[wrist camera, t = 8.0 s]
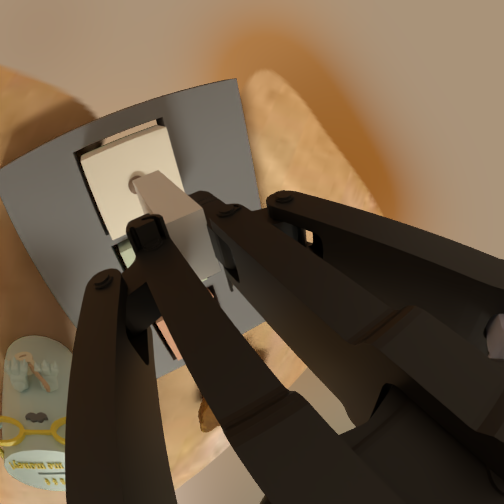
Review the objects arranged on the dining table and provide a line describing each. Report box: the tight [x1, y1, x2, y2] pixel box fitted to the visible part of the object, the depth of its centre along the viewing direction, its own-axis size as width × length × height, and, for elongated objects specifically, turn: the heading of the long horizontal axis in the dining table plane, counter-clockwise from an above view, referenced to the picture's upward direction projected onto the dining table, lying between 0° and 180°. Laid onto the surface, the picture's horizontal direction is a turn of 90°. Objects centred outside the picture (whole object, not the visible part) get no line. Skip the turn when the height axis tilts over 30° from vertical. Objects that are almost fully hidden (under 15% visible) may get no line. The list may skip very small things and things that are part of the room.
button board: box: [0, 78, 265, 379], centre depth 26 cm, size 20×26×2 cm
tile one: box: [81, 125, 185, 240], centre depth 20 cm, size 6×6×3 cm
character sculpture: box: [0, 335, 73, 491], centre depth 19 cm, size 20×12×13 cm, turn 72°
